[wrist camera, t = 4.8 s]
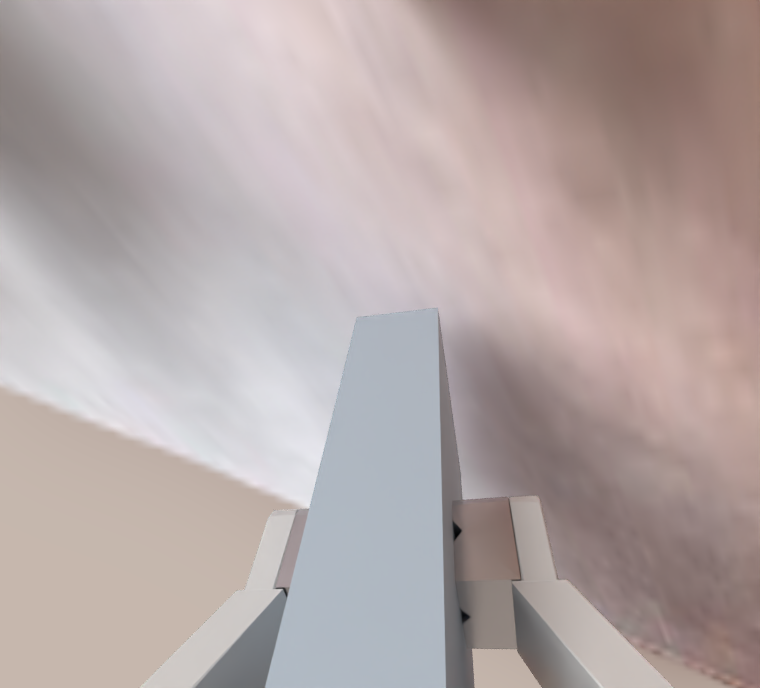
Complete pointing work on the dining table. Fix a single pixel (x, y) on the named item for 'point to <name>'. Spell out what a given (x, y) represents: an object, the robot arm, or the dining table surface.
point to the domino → (381, 526)
